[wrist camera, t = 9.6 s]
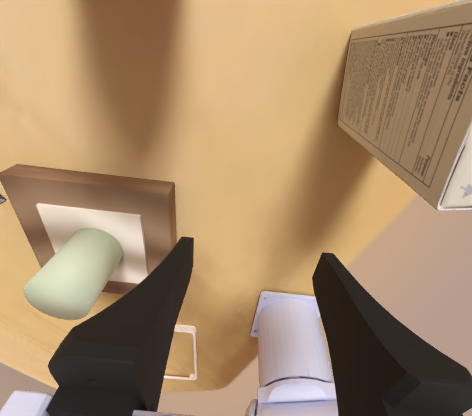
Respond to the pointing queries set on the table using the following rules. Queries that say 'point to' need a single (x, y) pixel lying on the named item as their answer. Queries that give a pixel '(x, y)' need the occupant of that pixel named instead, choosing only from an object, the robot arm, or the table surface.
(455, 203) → the skincare box
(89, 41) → the table surface
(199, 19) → the table surface
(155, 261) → the walnut base
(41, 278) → the sage cylinder
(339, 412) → the robot arm
